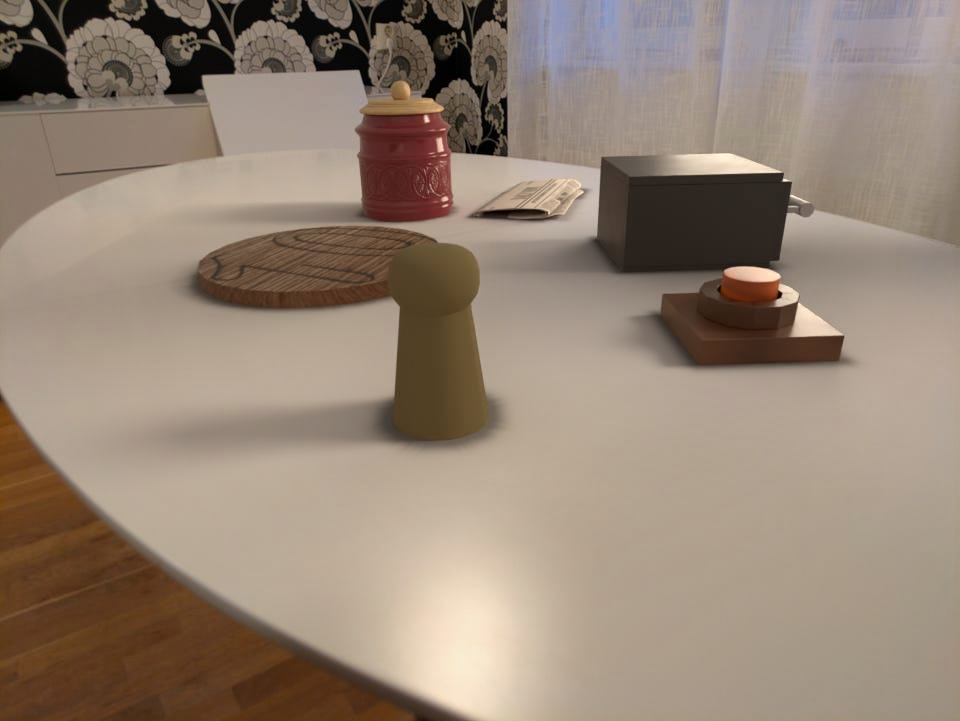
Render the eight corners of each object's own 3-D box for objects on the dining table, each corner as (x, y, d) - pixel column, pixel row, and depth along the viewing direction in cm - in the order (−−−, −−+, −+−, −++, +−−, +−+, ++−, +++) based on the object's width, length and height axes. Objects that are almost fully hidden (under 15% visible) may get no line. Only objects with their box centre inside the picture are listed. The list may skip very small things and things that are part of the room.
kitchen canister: (386, 229, 88) (374, 83, 81) (348, 212, 98) (335, 81, 91) (470, 216, 94) (467, 79, 87) (427, 201, 104) (420, 78, 97)
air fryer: (719, 238, 80) (730, 153, 76) (768, 272, 68) (784, 172, 64) (596, 241, 80) (601, 156, 76) (622, 276, 67) (629, 176, 63)
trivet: (373, 325, 57) (371, 303, 56) (143, 296, 65) (139, 277, 64) (477, 249, 78) (476, 233, 77) (294, 235, 86) (292, 220, 85)
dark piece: (767, 230, 79) (778, 161, 76) (819, 259, 68) (835, 180, 65) (618, 234, 79) (622, 165, 76) (645, 264, 68) (652, 185, 64)
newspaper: (562, 224, 88) (561, 205, 87) (475, 228, 93) (473, 210, 92) (593, 191, 108) (592, 175, 107) (520, 196, 112) (518, 180, 111)
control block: (777, 315, 57) (785, 270, 55) (838, 365, 48) (850, 312, 46) (659, 319, 56) (664, 273, 55) (698, 370, 47) (705, 317, 46)
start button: (763, 287, 52) (767, 265, 52) (786, 304, 49) (790, 281, 48) (712, 288, 52) (715, 266, 52) (731, 306, 49) (734, 283, 48)
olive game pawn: (372, 423, 41) (354, 249, 37) (442, 389, 45) (434, 228, 41) (440, 458, 38) (429, 269, 33) (510, 418, 42) (509, 244, 37)
